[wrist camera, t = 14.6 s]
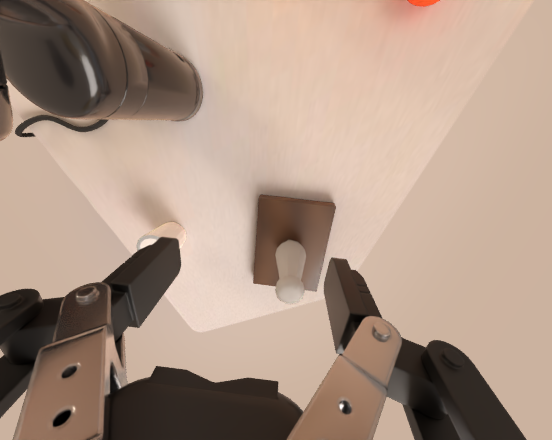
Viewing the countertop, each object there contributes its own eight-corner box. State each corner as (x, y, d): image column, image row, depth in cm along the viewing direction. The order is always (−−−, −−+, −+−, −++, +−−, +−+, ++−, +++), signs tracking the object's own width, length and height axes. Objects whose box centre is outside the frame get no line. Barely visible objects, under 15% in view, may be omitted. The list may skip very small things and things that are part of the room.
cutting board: (254, 277, 49) (253, 283, 47) (260, 194, 41) (258, 197, 39) (315, 285, 49) (316, 291, 47) (334, 203, 41) (335, 206, 39)
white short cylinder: (184, 218, 44) (166, 234, 38) (192, 246, 47) (177, 266, 41) (153, 219, 45) (130, 236, 39) (163, 248, 48) (143, 267, 41)
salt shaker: (307, 258, 44) (312, 309, 32) (279, 262, 45) (274, 313, 33) (302, 233, 41) (306, 278, 30) (273, 238, 42) (265, 283, 31)
